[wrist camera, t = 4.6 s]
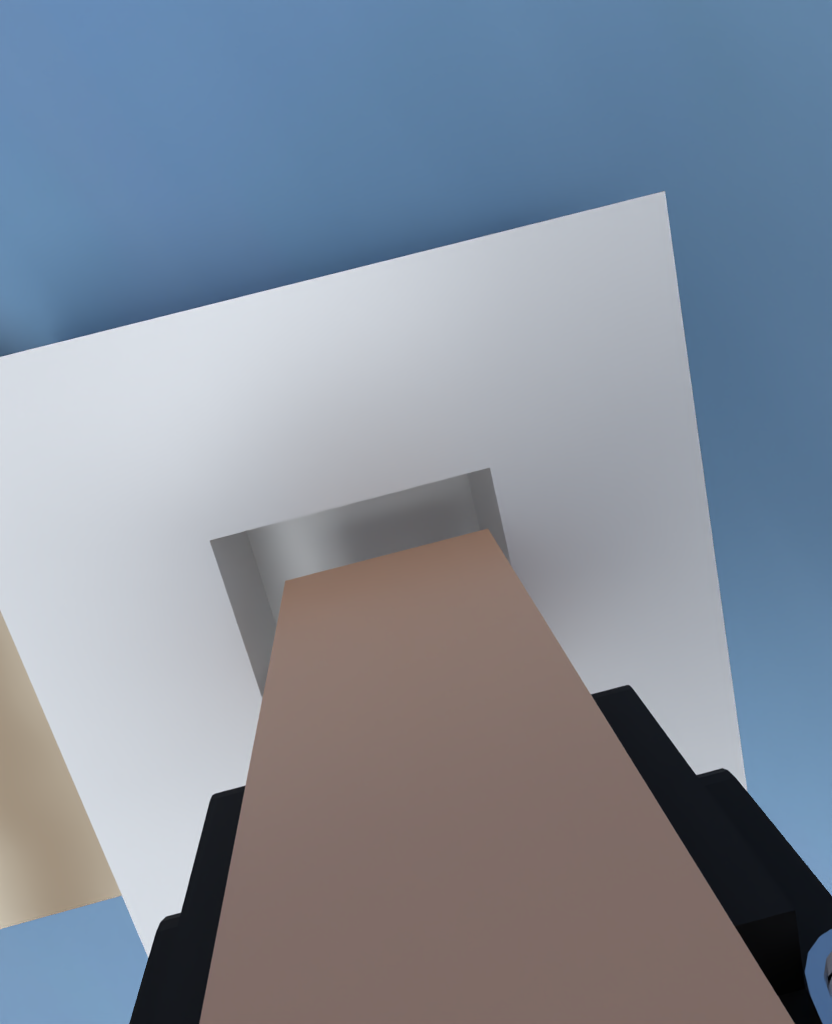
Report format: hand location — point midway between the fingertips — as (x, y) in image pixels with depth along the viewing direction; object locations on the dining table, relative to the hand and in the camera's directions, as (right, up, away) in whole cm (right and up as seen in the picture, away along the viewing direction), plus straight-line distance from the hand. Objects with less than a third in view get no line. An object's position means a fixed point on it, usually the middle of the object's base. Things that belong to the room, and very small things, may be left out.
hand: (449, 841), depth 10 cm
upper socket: (-2, +4, +14) cm, 14 cm away
